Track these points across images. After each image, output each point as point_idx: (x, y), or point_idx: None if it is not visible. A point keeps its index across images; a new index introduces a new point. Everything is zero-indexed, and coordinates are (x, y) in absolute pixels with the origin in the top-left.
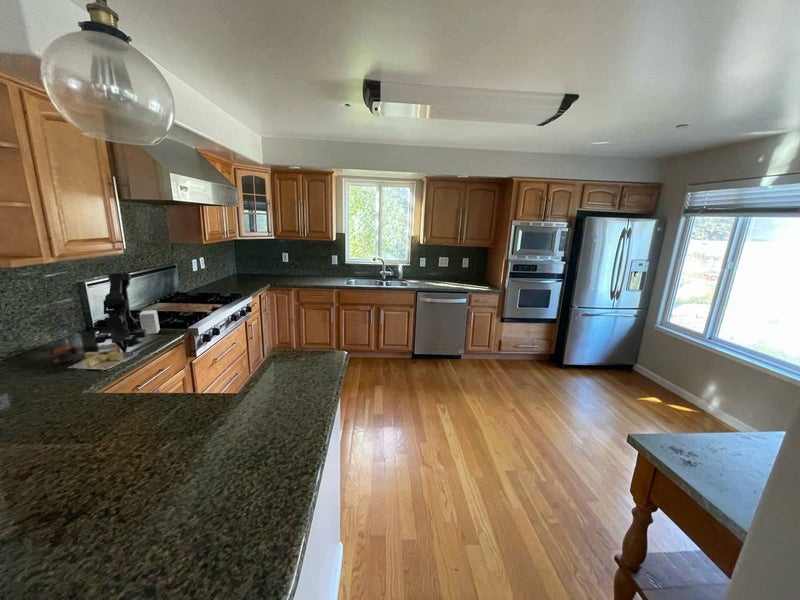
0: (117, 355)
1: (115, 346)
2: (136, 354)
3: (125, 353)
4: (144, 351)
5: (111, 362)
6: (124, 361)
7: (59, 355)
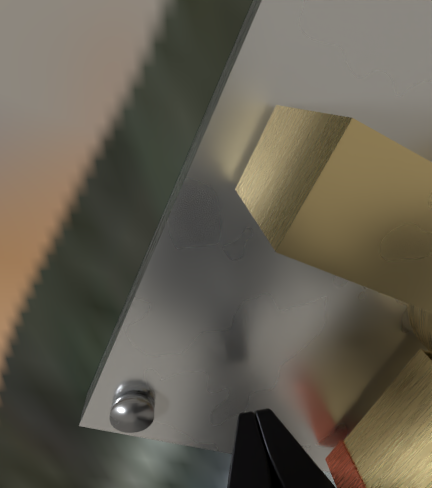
0: (359, 133)
1: None
2: (93, 381)
3: None
4: (55, 470)
5: (412, 54)
6: (194, 139)
7: None
